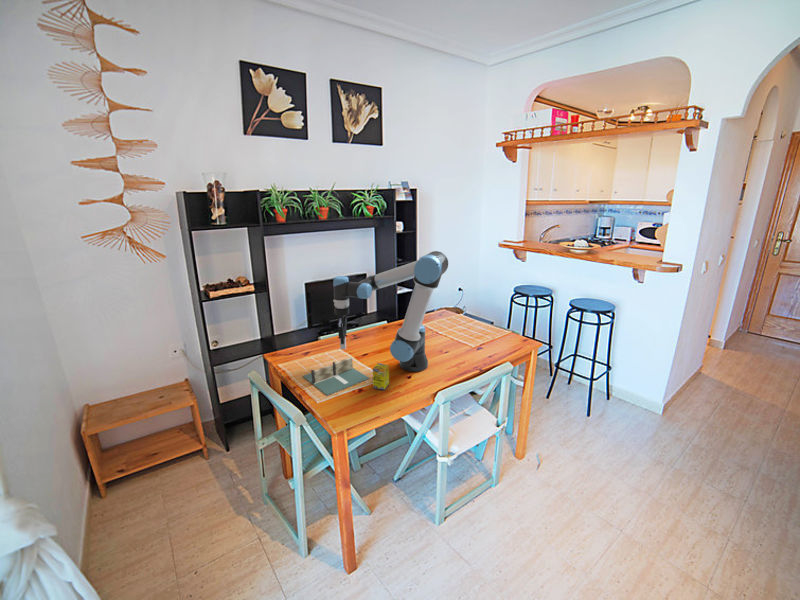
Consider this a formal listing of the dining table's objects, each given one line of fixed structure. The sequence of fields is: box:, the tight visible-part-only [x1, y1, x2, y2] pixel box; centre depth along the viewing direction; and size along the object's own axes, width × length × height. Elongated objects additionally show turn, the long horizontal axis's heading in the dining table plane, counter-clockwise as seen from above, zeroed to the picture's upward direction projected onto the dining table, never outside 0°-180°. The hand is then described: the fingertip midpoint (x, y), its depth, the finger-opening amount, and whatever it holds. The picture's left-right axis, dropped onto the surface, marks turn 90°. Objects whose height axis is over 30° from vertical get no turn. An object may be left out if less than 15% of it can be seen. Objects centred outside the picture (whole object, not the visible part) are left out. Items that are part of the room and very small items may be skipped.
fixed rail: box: [310, 364, 333, 385], centre depth 184 cm, size 11×2×7 cm, turn 131°
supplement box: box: [372, 362, 390, 392], centre depth 178 cm, size 6×6×11 cm
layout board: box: [302, 364, 370, 396], centre depth 188 cm, size 24×24×1 cm
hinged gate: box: [332, 357, 354, 375], centre depth 192 cm, size 11×2×7 cm, turn 131°
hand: (343, 348), depth 198 cm, fingers closed
